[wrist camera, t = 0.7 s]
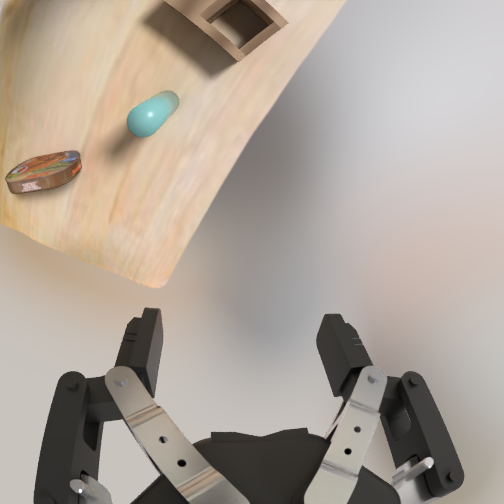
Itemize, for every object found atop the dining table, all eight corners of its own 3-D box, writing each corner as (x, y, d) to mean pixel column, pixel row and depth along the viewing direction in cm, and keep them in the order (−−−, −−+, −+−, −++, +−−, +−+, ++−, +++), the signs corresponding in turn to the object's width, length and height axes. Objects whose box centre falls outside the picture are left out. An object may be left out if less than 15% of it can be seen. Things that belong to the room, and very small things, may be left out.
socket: (165, 2, 25) (157, -5, 22) (209, -34, 22) (207, -45, 18) (238, 61, 32) (238, 62, 28) (281, 26, 29) (288, 22, 25)
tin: (88, 147, 38) (63, 168, 31) (91, 165, 40) (68, 189, 33) (22, 159, 36) (-5, 180, 30) (26, 174, 38) (1, 197, 32)
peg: (149, 104, 35) (120, 124, 26) (165, 85, 34) (141, 98, 24) (167, 119, 37) (145, 143, 27) (184, 101, 35) (166, 118, 26)
